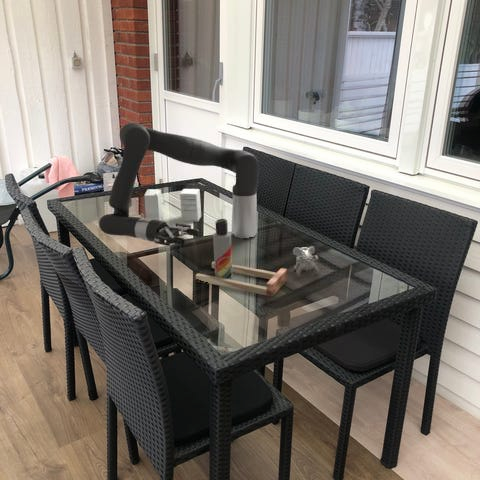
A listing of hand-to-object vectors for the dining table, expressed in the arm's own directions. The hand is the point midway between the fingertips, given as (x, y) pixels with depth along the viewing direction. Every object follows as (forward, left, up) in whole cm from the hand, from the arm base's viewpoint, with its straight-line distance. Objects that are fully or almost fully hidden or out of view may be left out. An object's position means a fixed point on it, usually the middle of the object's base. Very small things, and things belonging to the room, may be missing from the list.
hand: (191, 237), depth 167 cm
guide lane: (0, +18, -12) cm, 22 cm away
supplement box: (-45, -29, -13) cm, 55 cm away
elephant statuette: (-16, +33, -13) cm, 39 cm away
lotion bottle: (0, +11, -13) cm, 17 cm away
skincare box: (-32, -39, -13) cm, 52 cm away
